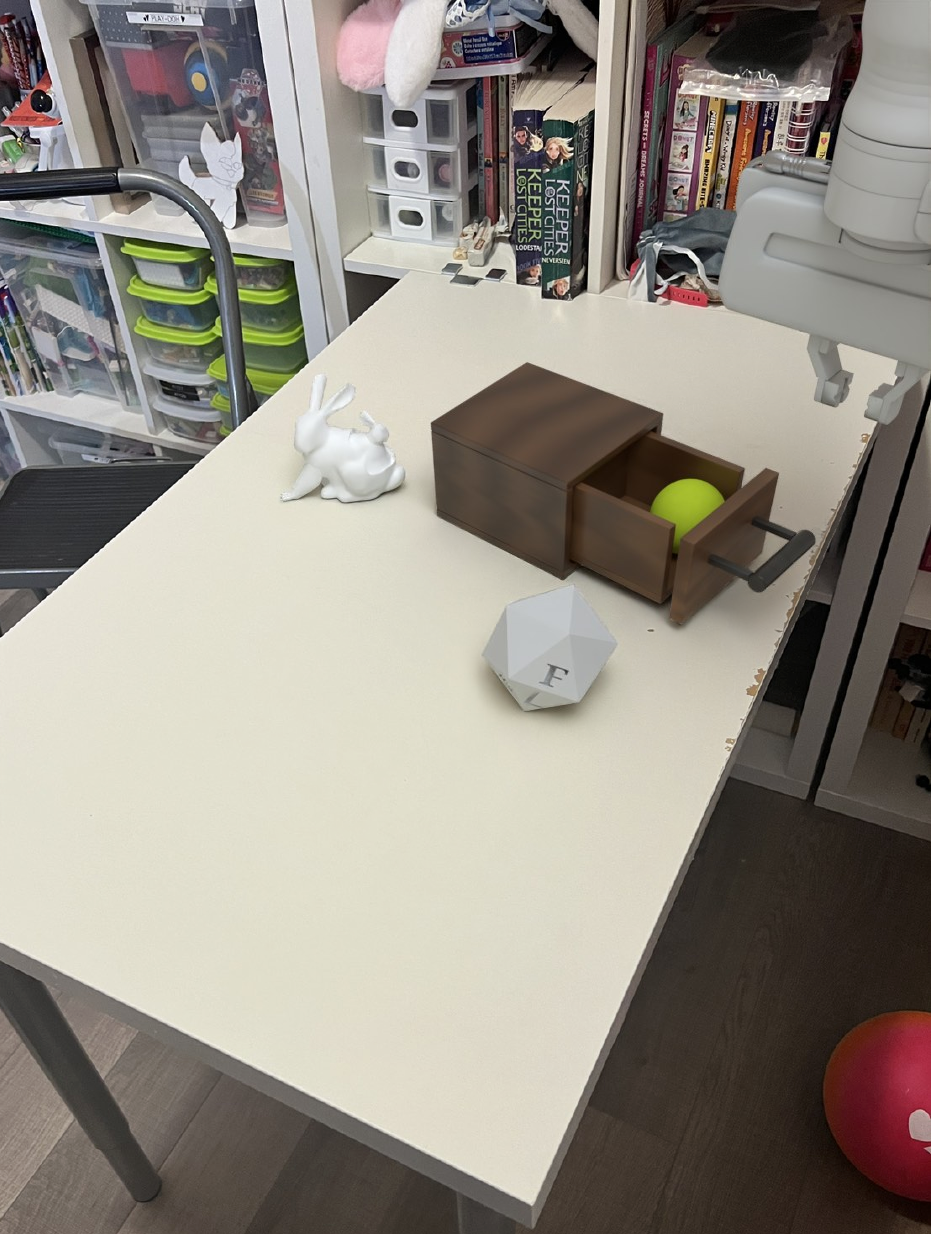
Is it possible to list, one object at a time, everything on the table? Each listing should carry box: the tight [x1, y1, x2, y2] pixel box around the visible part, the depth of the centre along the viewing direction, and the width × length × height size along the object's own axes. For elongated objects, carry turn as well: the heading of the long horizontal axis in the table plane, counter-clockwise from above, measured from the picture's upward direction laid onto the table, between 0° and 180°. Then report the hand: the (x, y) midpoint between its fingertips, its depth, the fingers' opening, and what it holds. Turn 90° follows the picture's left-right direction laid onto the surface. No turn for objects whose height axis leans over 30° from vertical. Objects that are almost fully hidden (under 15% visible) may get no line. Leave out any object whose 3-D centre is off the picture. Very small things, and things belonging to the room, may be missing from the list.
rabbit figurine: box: [279, 373, 406, 503], centre depth 95 cm, size 12×8×10 cm, turn 78°
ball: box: [650, 479, 725, 554], centre depth 82 cm, size 6×6×6 cm
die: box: [481, 584, 619, 712], centre depth 75 cm, size 8×9×10 cm
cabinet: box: [430, 361, 664, 581], centre depth 89 cm, size 15×13×10 cm
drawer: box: [570, 431, 817, 625], centre depth 82 cm, size 18×11×8 cm, turn 45°
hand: (854, 409), depth 65 cm, fingers closed
